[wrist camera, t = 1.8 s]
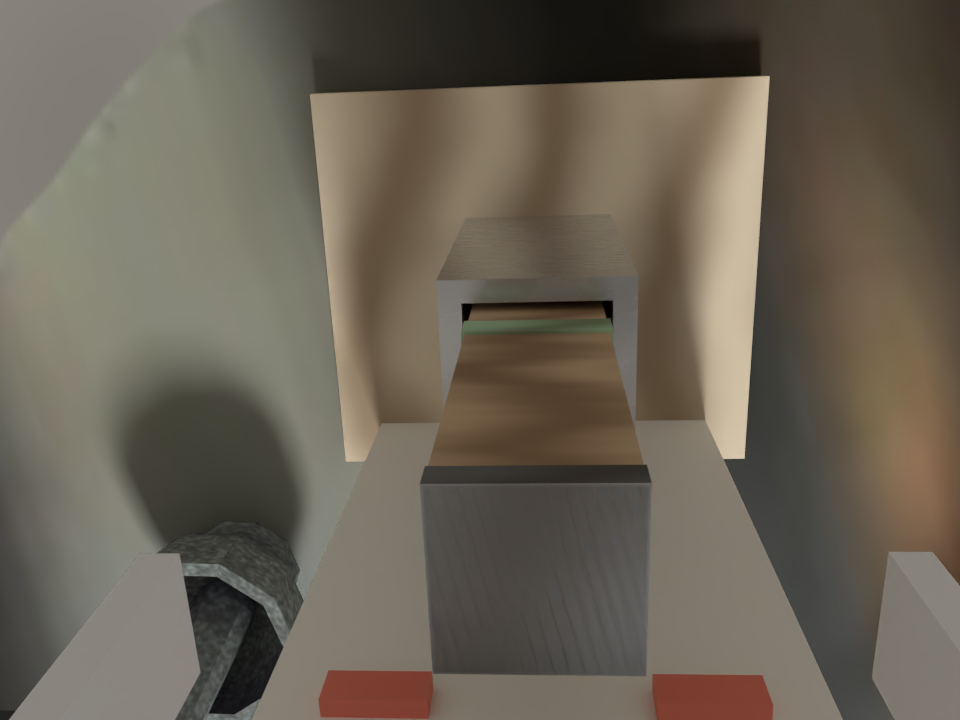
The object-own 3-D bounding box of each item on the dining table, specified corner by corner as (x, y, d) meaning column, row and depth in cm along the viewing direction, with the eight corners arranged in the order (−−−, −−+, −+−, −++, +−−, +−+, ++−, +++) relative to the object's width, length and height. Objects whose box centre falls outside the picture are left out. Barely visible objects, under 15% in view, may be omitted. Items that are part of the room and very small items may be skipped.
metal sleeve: (610, 213, 39) (638, 275, 28) (608, 351, 41) (634, 461, 30) (465, 217, 40) (435, 280, 28) (471, 353, 42) (446, 462, 31)
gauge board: (705, 408, 42) (998, 1023, 15) (704, 442, 43) (982, 1092, 16) (380, 412, 43) (119, 987, 16) (383, 444, 44) (135, 1052, 17)
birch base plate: (761, 75, 38) (769, 76, 37) (737, 445, 44) (744, 458, 43) (318, 93, 40) (310, 94, 38) (352, 448, 46) (346, 461, 44)
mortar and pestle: (180, 469, 47) (65, 599, 36) (346, 520, 47) (285, 664, 36) (145, 633, 51) (31, 798, 39) (299, 679, 51) (230, 856, 40)
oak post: (588, 238, 39) (654, 480, 17) (588, 335, 41) (648, 678, 18) (487, 241, 40) (416, 481, 17) (490, 337, 41) (430, 675, 18)
